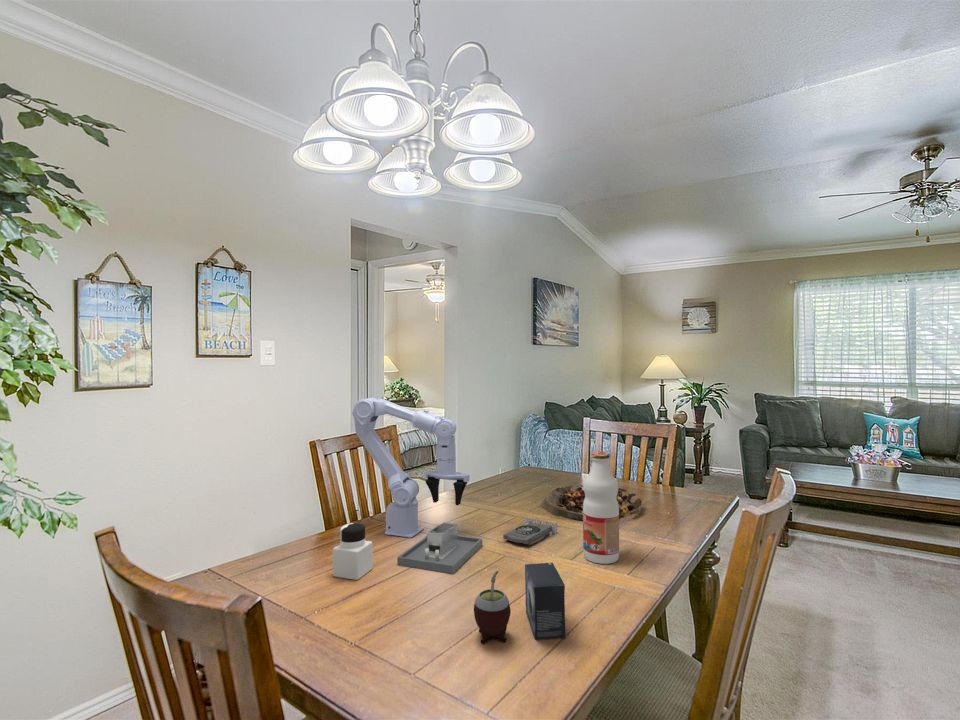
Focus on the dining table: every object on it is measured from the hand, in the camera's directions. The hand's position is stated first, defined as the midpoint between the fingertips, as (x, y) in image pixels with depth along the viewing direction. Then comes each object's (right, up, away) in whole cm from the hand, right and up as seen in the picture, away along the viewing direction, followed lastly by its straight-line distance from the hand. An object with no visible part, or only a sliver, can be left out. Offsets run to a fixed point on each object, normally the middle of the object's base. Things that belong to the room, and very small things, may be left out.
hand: (446, 503), depth 153 cm
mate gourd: (+13, -10, -57) cm, 59 cm away
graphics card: (+24, -10, -3) cm, 26 cm away
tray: (0, -10, -16) cm, 19 cm away
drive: (0, -8, -16) cm, 18 cm away
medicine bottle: (-22, -10, -27) cm, 36 cm away
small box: (+23, -10, -52) cm, 58 cm away
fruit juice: (+43, -9, -19) cm, 48 cm away
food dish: (+49, -9, +25) cm, 56 cm away
